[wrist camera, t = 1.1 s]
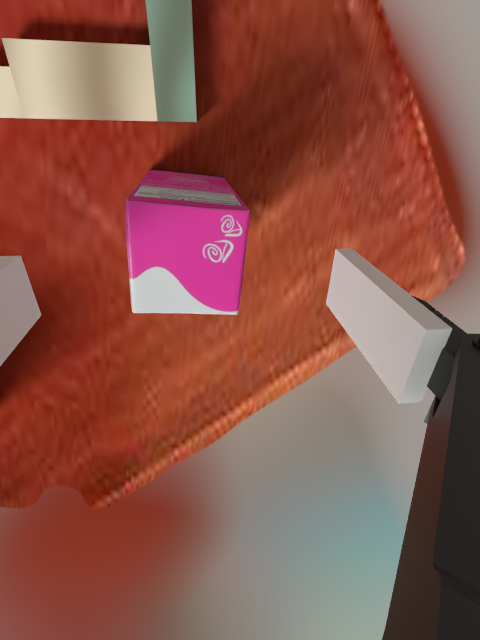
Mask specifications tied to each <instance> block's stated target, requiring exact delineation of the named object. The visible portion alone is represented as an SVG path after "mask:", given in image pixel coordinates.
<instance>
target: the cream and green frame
mask: <svg viewBox="0 0 480 640" xmlns="http://www.w3.org/2000/svg"><path fill="white" fill-rule="evenodd" d="M146 8H147V18H148V29H149V39H150V45H133V44H112V43H92V42H72V41H51V40H31V39H10V38H2V41H3V45H4V48H5V52H6V55H7V59H8V63H9V66H10V67H6V66H0V118H33V119H78V120H123V121H167V122H197V116H196V93H195V70H194V47H193V24H192V1H191V0H146Z"/></svg>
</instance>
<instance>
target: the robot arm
mask: <svg viewBox="0 0 480 640" xmlns="http://www.w3.org/2000/svg"><path fill="white" fill-rule="evenodd" d="M326 304H327V306H328V307H329V308H330V310H331V311H332V313H333V314H334V315H335V317H336V318H337V320H338V321H339V322H340V324H341V325H342V326H343V328H344V329H345V331H346V332H347V333H348V335H349V336H350V337H351V339H352V340H353V342H354V343H355V344H356V346H357V347H358V348H359V350H360V351H361V353H362V354H363V355H364V357H365V358H366V360H367V361H368V362H369V364H370V365H371V366H372V368H373V369H374V371H375V372H376V373H377V375H378V376H379V377H380V379H381V380H382V381H383V383H384V384H385V385H386V387H387V388H388V390H389V391H390V393H391V394H392V395H393V397H394V398H395V399H396V401H397V402H398V404H399V403H412V402H421V401H422V399H423V396H424V394H425V392H426V389H427V387H428V388H429V389H430V390H431V391H432V392H433V393H434V394H435V398H434V400H433V403H432V405H431V407H430V409H429V412H428V414H427V416H426V418H425V421H424V422H425V423H427V429H426V434H425V439H424V444H423V449H422V453H421V458H420V463H419V468H418V473H417V478H416V482H415V488H414V492H413V497H412V502H411V506H410V511H409V516H408V521H407V526H406V531H405V536H404V540H403V545H402V550H401V555H400V560H399V565H398V569H397V574H396V579H395V584H394V589H393V594H392V599H391V604H390V608H389V613H388V618H387V622H386V627H385V631H384V635H383V638H382V640H480V334H467V333H466V332H464V331H463V330H462V329H460V328H459V327H458V326H456V325H455V324H454V323H453V322H451V321H450V320H449V319H447V318H446V317H443V315H442V314H441V313H440V312H438V311H435V309H434V308H433V307H432V306H431V305H429V304H428V303H427V302H425V301H423V300H421V299H419V298H417V297H414V296H411V295H410V294H408V293H407V292H406V291H405V290H403V289H402V288H401V287H400V286H398V285H397V284H396V283H395V282H393V281H392V280H391V279H390V278H388V277H387V276H386V275H385V274H383V273H382V272H381V271H380V270H378V269H377V268H376V267H375V266H373V265H372V264H371V263H369V262H368V261H367V260H366V259H364V258H363V257H362V256H361V255H359V254H358V253H357V252H356V251H354V250H353V249H336V250H335V256H334V262H333V267H332V273H331V279H330V284H329V290H328V296H327V301H326ZM40 317H41V312H40V310H39V307H38V304H37V301H36V298H35V295H34V292H33V289H32V287H31V284H30V281H29V278H28V275H27V272H26V269H25V266H24V264H23V261H22V258H21V256H0V366H1V365H2V364H3V362H4V361H5V360H6V359H7V357H8V356H9V355H10V354H11V352H12V351H13V350H14V349H15V347H16V346H17V345H18V344H19V342H20V341H21V340H22V339H23V338H24V336H25V335H26V334H27V333H28V331H29V330H30V329H31V328H32V326H33V325H34V324H35V323H36V321H37V320H38V319H39V318H40Z"/></svg>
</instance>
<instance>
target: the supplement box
mask: <svg viewBox="0 0 480 640" xmlns="http://www.w3.org/2000/svg"><path fill="white" fill-rule="evenodd" d="M249 218H250V210H249V209H248V208H247V207H246V205H245V204H244V203H243V201H242V200H241V199H240V198H239V196H238V195H237V194H236V192H235V191H234V190H233V189H232V187H231V186H230V185H229V183H228V182H227V181H226V180H225V178H224V177H218V176H208V175H199V174H190V173H181V172H172V171H162V170H149V172H148V173H147V174H146V176H145V177H144V178H143V179H142V180H141V182H140V183H139V184H138V186H137V187H136V188H135V189H134V191H133V192H132V193H131V194H130V196H129V197H128V198H127V199H126V201H125V220H126V237H127V252H128V266H129V277H130V292H131V304H132V312H133V313H193V314H230V315H236V314H237V313H238V310H239V303H240V294H241V286H242V277H243V270H244V261H245V251H246V243H247V235H248V226H249Z"/></svg>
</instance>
